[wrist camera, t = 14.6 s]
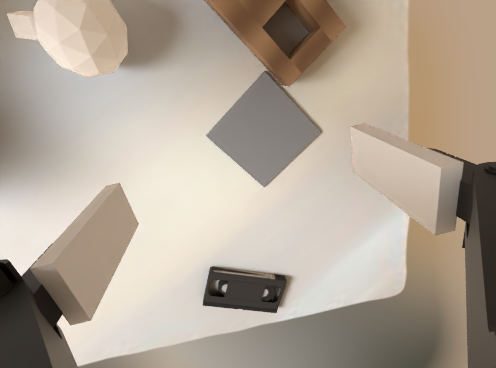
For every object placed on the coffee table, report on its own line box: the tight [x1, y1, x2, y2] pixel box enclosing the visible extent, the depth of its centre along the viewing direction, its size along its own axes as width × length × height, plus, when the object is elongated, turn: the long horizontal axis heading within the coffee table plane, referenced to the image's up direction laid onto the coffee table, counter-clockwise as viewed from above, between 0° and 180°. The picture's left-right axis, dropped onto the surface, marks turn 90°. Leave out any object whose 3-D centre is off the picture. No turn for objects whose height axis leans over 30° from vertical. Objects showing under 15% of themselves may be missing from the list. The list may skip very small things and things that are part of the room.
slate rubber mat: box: [206, 71, 321, 187], centre depth 40 cm, size 12×12×1 cm
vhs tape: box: [203, 267, 287, 313], centre depth 51 cm, size 14×8×2 cm, turn 77°
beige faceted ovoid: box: [6, 0, 128, 77], centre depth 30 cm, size 9×9×12 cm
